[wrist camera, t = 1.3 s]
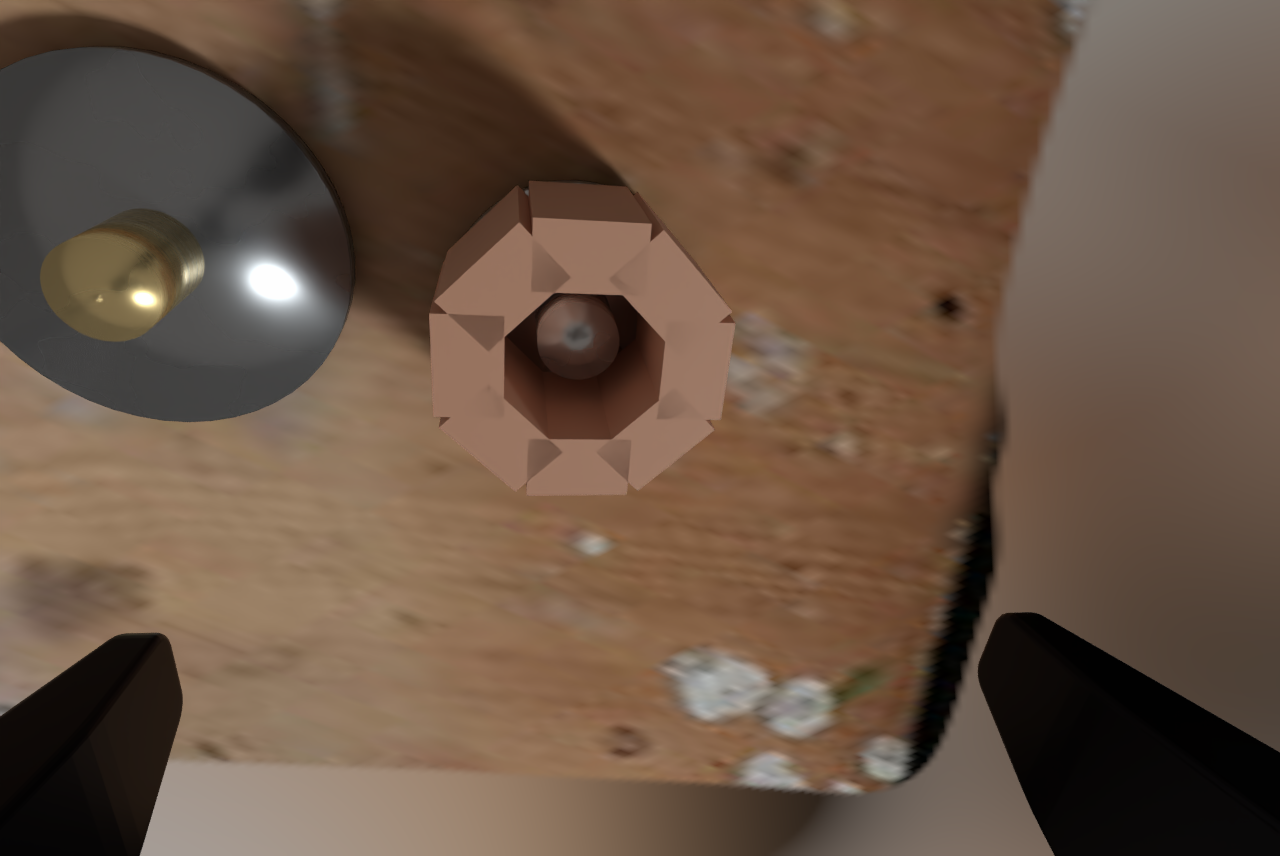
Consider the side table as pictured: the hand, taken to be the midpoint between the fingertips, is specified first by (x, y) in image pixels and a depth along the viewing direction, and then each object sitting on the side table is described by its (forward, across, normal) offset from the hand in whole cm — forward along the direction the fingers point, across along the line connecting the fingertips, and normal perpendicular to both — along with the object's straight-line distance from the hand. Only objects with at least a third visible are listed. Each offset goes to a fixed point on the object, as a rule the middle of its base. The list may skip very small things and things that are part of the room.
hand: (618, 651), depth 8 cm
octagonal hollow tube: (+12, 0, 0) cm, 12 cm away
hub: (+12, +9, -1) cm, 15 cm away
